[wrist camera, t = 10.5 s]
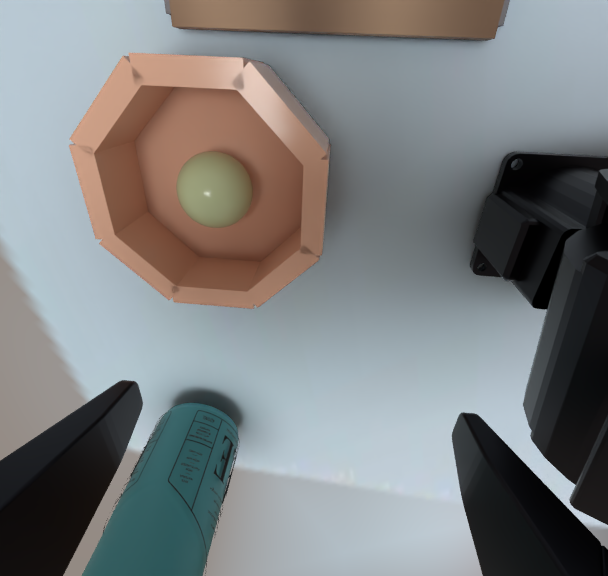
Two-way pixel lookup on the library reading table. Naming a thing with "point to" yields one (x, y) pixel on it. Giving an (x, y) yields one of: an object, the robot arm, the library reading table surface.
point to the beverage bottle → (171, 498)
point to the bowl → (204, 177)
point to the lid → (344, 17)
